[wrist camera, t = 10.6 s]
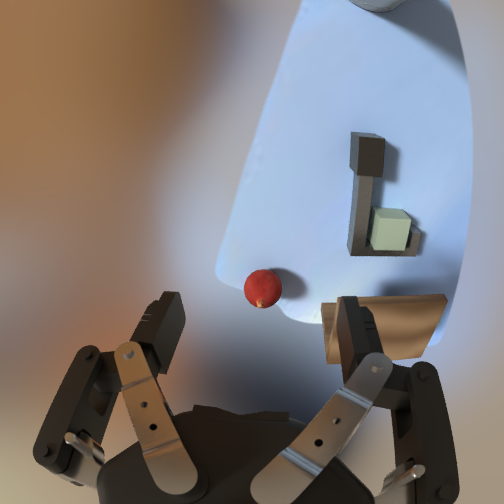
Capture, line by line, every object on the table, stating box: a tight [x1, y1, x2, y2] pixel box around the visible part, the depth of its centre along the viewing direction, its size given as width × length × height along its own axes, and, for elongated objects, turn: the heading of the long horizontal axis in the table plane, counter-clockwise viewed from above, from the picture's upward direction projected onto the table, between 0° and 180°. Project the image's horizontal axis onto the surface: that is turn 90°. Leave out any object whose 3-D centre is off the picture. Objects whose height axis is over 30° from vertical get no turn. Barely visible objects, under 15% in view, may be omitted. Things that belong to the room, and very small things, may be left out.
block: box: [368, 207, 411, 251], centre depth 39 cm, size 5×5×4 cm
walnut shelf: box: [321, 294, 448, 364], centre depth 41 cm, size 12×16×12 cm
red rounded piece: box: [244, 269, 282, 308], centre depth 44 cm, size 6×6×8 cm
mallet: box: [347, 132, 421, 256], centre depth 36 cm, size 18×12×4 cm
